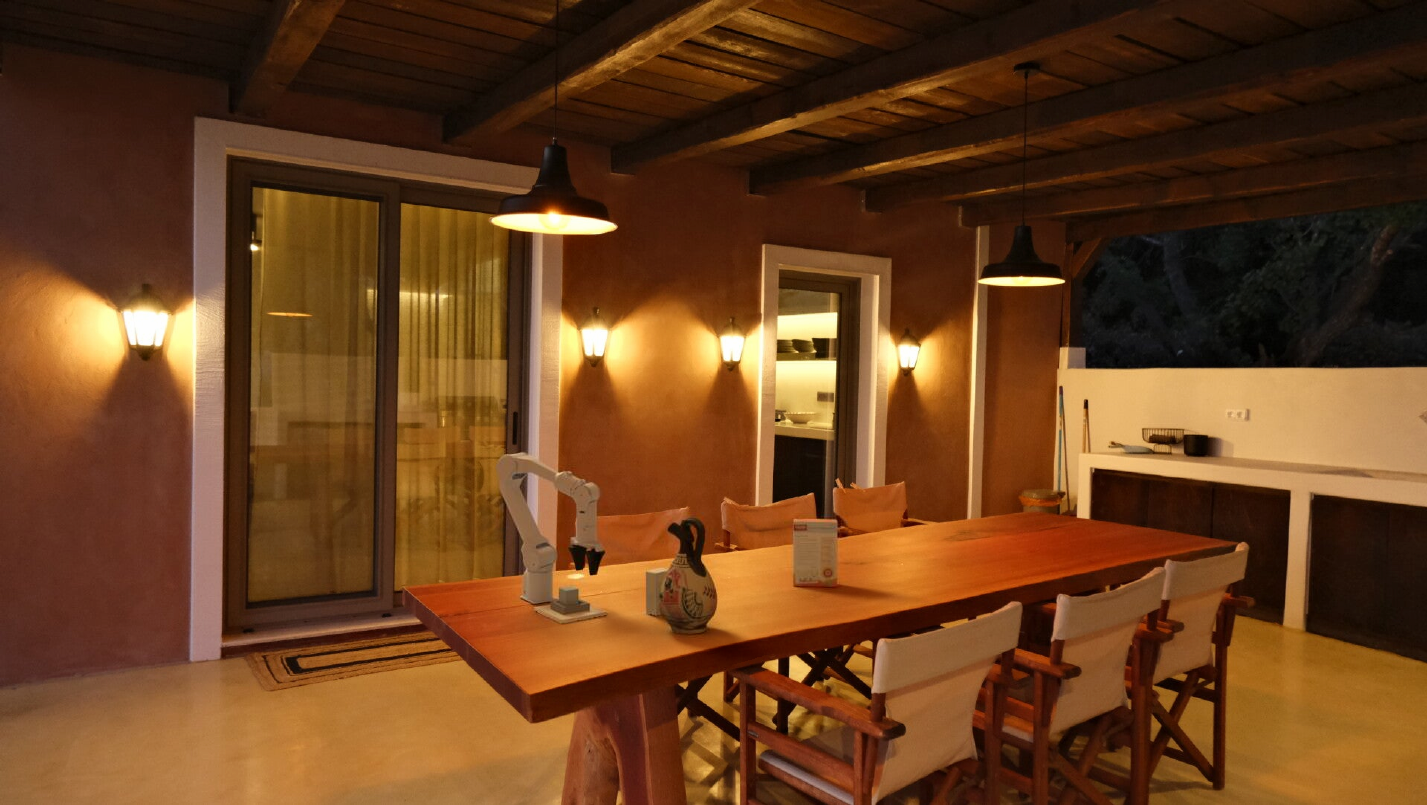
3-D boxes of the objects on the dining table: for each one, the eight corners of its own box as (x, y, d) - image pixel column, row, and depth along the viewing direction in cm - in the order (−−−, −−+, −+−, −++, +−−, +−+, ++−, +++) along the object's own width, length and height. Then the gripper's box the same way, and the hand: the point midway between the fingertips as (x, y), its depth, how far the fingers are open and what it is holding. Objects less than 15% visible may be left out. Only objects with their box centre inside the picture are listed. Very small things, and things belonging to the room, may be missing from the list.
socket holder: (534, 610, 249) (534, 600, 249) (578, 603, 258) (578, 593, 258) (561, 623, 237) (561, 612, 237) (606, 615, 245) (606, 604, 245)
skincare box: (659, 609, 252) (660, 567, 252) (670, 612, 250) (671, 569, 249) (644, 613, 248) (645, 570, 247) (656, 616, 245) (656, 573, 245)
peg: (558, 609, 247) (558, 587, 247) (571, 607, 250) (571, 585, 250) (565, 612, 244) (565, 590, 244) (578, 610, 247) (578, 588, 247)
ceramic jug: (645, 629, 232) (646, 515, 231) (689, 618, 243) (690, 509, 242) (690, 643, 220) (691, 523, 219) (733, 631, 231) (734, 516, 230)
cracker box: (836, 583, 286) (837, 518, 285) (837, 588, 280) (838, 521, 279) (792, 582, 287) (793, 517, 286) (792, 586, 281) (793, 520, 280)
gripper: (561, 523, 259) (561, 569, 259) (587, 530, 247) (587, 579, 248) (582, 521, 263) (582, 566, 263) (609, 527, 252) (609, 575, 252)
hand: (586, 572), depth 256 cm, fingers open, 7 cm apart
